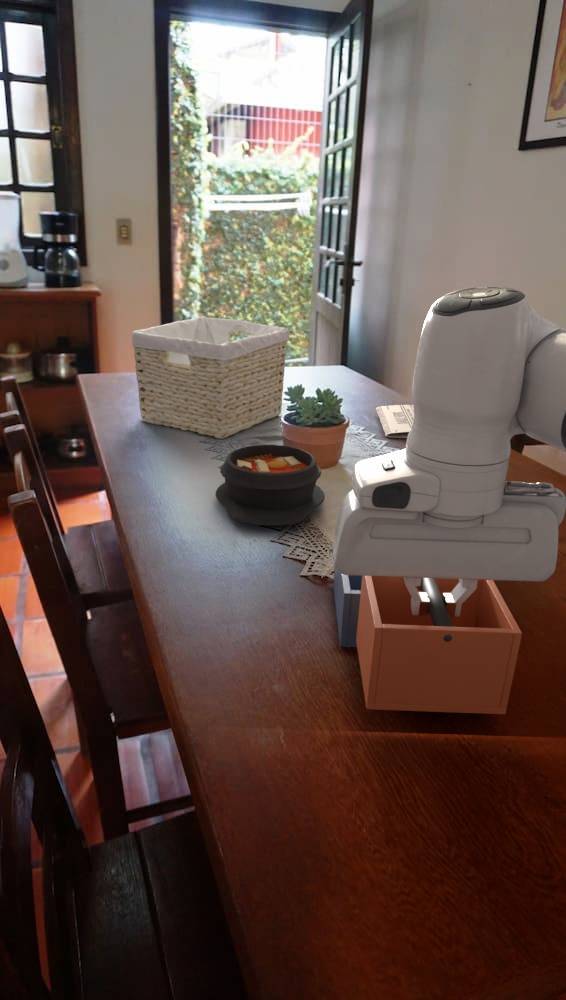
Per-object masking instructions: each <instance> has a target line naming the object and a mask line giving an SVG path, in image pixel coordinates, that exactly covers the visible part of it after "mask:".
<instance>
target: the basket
mask: <svg viewBox="0 0 566 1000" xmlns="http://www.w3.org/2000/svg"><path fill="white" fill-rule="evenodd" d="M232 334H234V335H236V336H239V335H245V336H247V337H243V338H238V339H235V340H232V341H231V336H232ZM289 338H290V330H289V329H288V328H286V327H284V326H275V325H268V324H261V323H256V322H253V321H245V320H243V319H234V318H219V317H207V316H206V315H203V316H196V317H194V318H190V319H183V320H177V321H173V322H170V323H169V322H168V323H165V324H161V325H156V326H151V327H147V328H141V329H135V330H133V331H132V333H131V344H132V347H133V352H134V361H135V369H136V370H135V374H136V381H137V389H138V390H137V391H138V403H139V404H138V405H139V406H138V407H139V412H140V418H141V420H142V422H145V423H149V424H153V425H155V424H156V425H159V426H164V427H172V428H175V429H180V430H182V431H191V432H194V433H196V432H197V433H198V434H199V435H207V436H209V437H214V438H215V439H219V440H223V439H225V438H228V437H229V436H233V435H235V434H237V433H239V432H240V431H243V430H248V429H250V428H252V427H253V426H254V425H258V424H261V423H263V422H265V421H266V420H270V419H273V418H276V417H277V416H280V415H281V414H282V406H283V392H284V379H285V378H284V377H285V366H286V365H285V364H286V355H287V345H288V340H289Z"/></svg>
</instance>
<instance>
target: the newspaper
mask: <svg viewBox="0 0 566 1000" xmlns="http://www.w3.org/2000/svg"><path fill="white" fill-rule="evenodd" d="M375 411H376V414H377V416H378V419H379V422H380V424H381V427H382V430H383V432H384V435H385V437H386V438H398V439H407V437H408V434H409V432H410V430H411V427H412V424H413V420H414V407H413V404H393V405H380V406H377V407H376V408H375Z"/></svg>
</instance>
